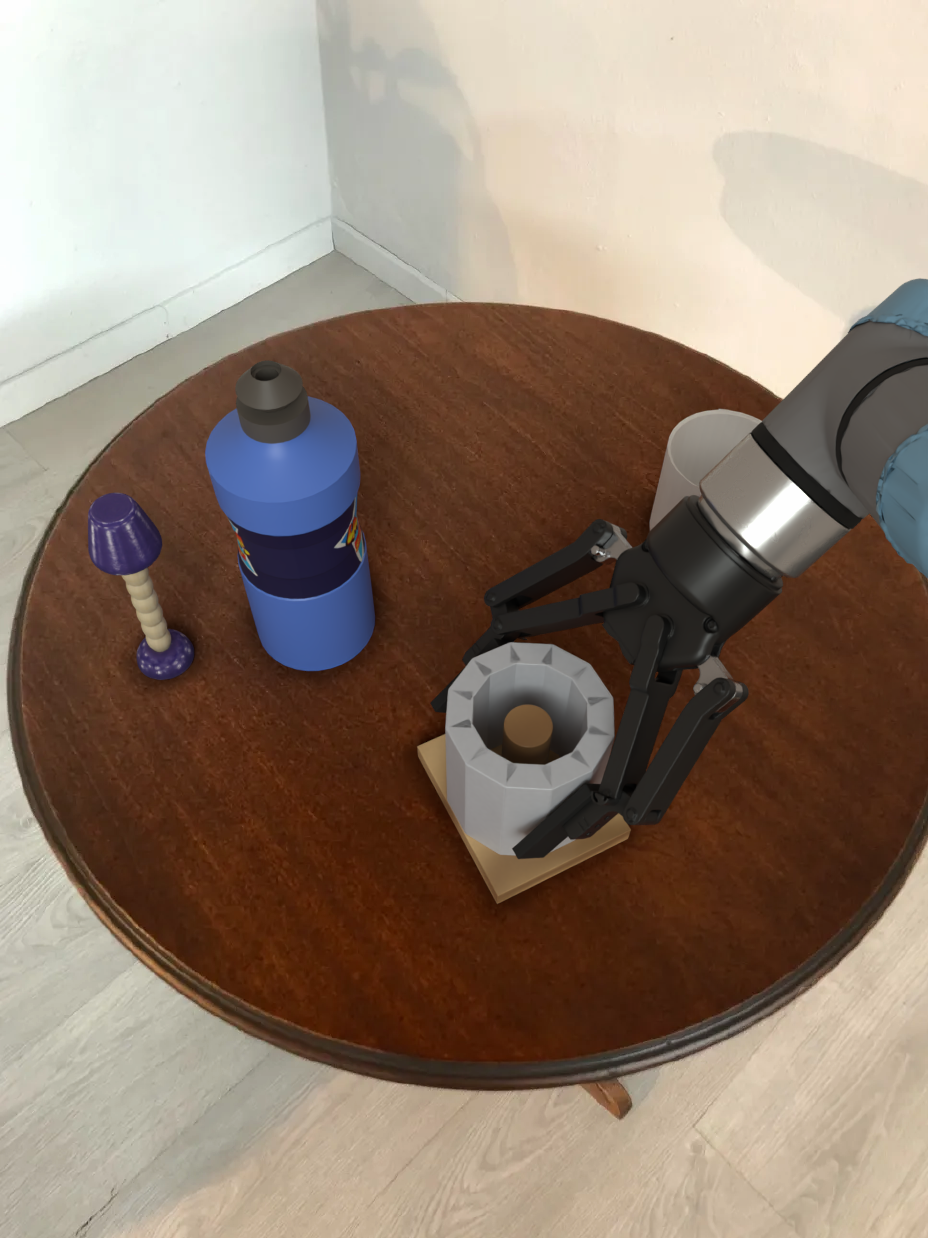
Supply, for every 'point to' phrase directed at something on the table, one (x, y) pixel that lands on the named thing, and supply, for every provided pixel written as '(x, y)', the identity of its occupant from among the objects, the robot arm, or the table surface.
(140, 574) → the toy lamp
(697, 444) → the mug
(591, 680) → the silver tape
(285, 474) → the water bottle
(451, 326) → the table surface
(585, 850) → the stand
